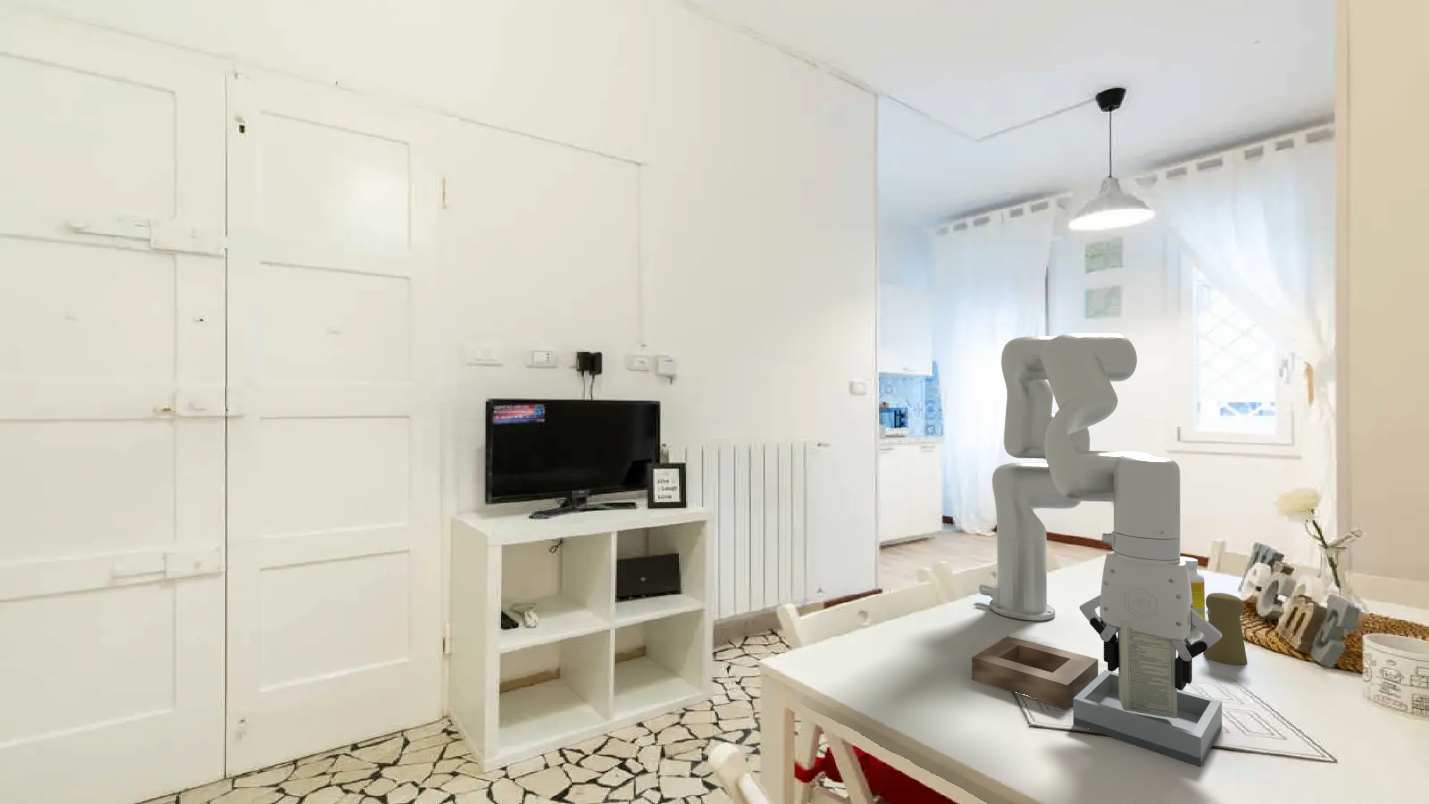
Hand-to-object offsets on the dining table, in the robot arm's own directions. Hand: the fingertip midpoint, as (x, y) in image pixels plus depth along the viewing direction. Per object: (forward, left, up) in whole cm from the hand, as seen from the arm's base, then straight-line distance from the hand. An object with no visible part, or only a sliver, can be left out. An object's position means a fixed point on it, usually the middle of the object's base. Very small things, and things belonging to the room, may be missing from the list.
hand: (1146, 676), depth 86 cm
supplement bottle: (-6, +56, -7) cm, 57 cm away
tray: (0, 0, -7) cm, 7 cm away
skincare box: (0, 0, -5) cm, 5 cm away
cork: (+3, +38, -7) cm, 39 cm away
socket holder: (-16, +4, -7) cm, 18 cm away
